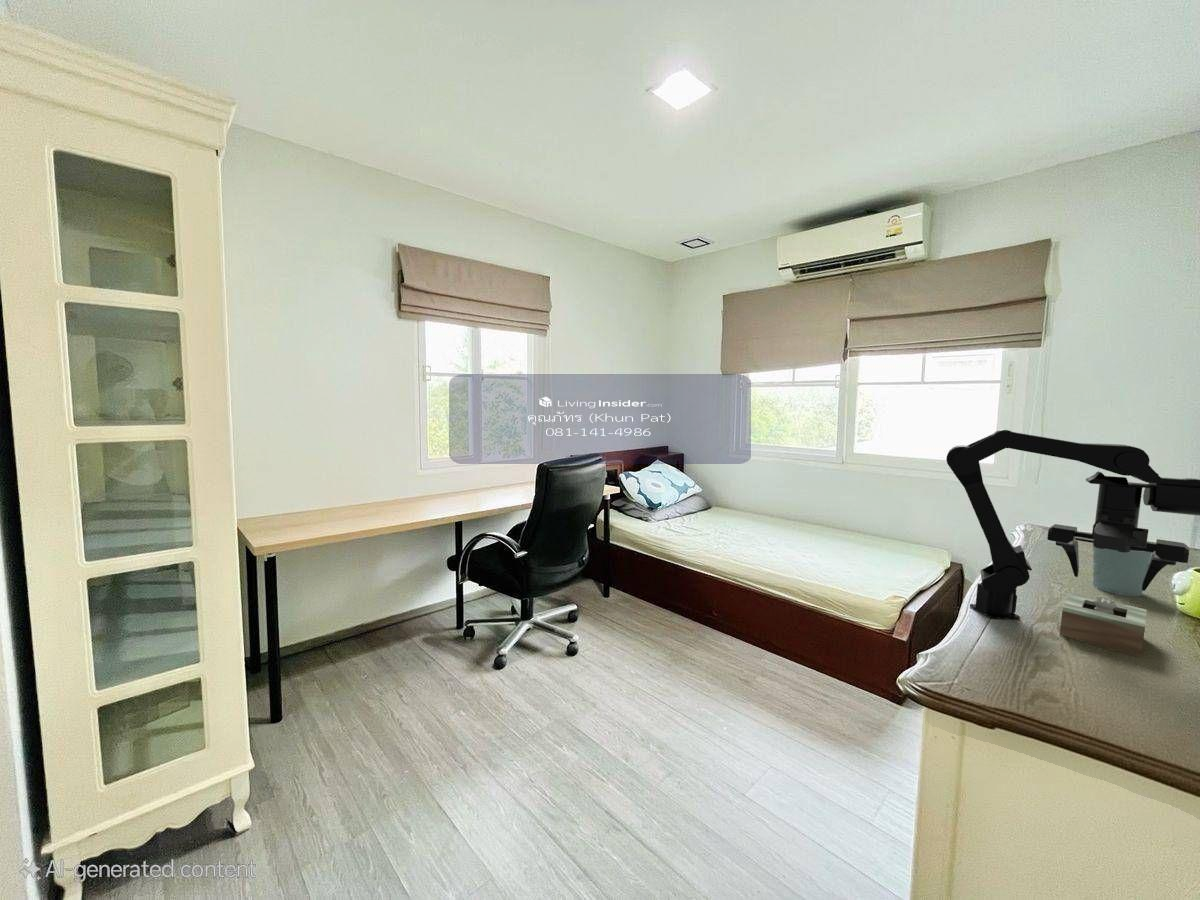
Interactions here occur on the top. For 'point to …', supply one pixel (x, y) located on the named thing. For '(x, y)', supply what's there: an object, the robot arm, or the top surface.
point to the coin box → (1104, 624)
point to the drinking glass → (1120, 570)
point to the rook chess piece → (1104, 605)
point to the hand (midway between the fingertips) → (1108, 583)
